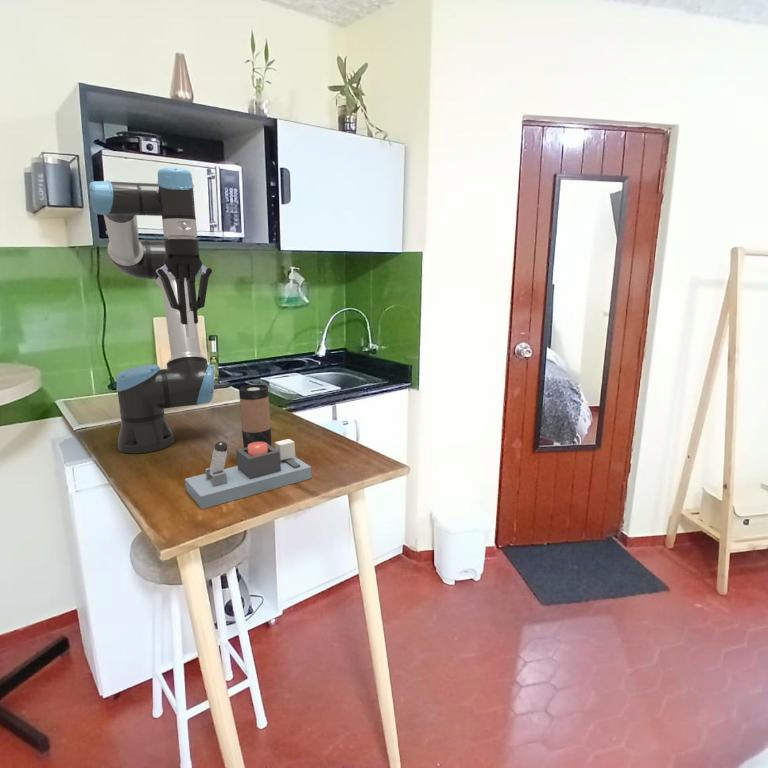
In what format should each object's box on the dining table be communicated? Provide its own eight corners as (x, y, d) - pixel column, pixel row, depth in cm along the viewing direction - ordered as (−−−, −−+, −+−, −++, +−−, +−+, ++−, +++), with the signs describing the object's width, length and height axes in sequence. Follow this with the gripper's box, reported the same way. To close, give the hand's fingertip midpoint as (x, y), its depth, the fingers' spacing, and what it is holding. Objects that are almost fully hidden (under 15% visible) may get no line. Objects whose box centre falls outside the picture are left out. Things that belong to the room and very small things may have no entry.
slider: (275, 456, 132) (274, 442, 131) (289, 453, 134) (289, 438, 133) (280, 460, 130) (279, 445, 129) (295, 456, 132) (294, 441, 131)
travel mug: (278, 457, 142) (274, 386, 138) (254, 465, 137) (249, 392, 132) (262, 451, 147) (257, 382, 142) (238, 458, 142) (232, 388, 137)
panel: (185, 490, 122) (182, 458, 120) (289, 463, 138) (288, 435, 136) (202, 509, 113) (198, 475, 111) (311, 478, 128) (310, 447, 126)
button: (246, 465, 126) (244, 444, 125) (264, 461, 129) (262, 440, 128) (253, 471, 123) (252, 449, 121) (271, 466, 125) (270, 445, 124)
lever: (208, 473, 120) (214, 439, 119) (219, 473, 121) (225, 440, 121) (212, 476, 118) (218, 442, 117) (223, 477, 119) (230, 443, 119)
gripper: (156, 237, 116) (167, 341, 122) (213, 238, 124) (222, 336, 129) (148, 238, 122) (159, 338, 127) (203, 239, 130) (212, 333, 135)
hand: (190, 337), depth 128 cm, fingers closed
